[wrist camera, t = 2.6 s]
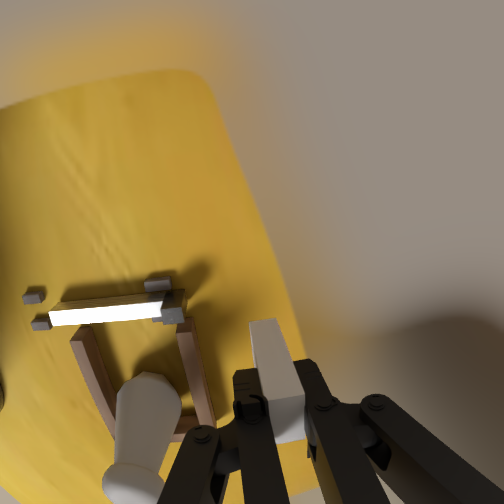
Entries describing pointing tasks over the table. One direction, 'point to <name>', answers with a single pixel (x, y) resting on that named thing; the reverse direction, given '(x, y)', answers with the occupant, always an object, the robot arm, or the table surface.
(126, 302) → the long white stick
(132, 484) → the salt shaker
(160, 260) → the table surface
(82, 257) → the table surface
